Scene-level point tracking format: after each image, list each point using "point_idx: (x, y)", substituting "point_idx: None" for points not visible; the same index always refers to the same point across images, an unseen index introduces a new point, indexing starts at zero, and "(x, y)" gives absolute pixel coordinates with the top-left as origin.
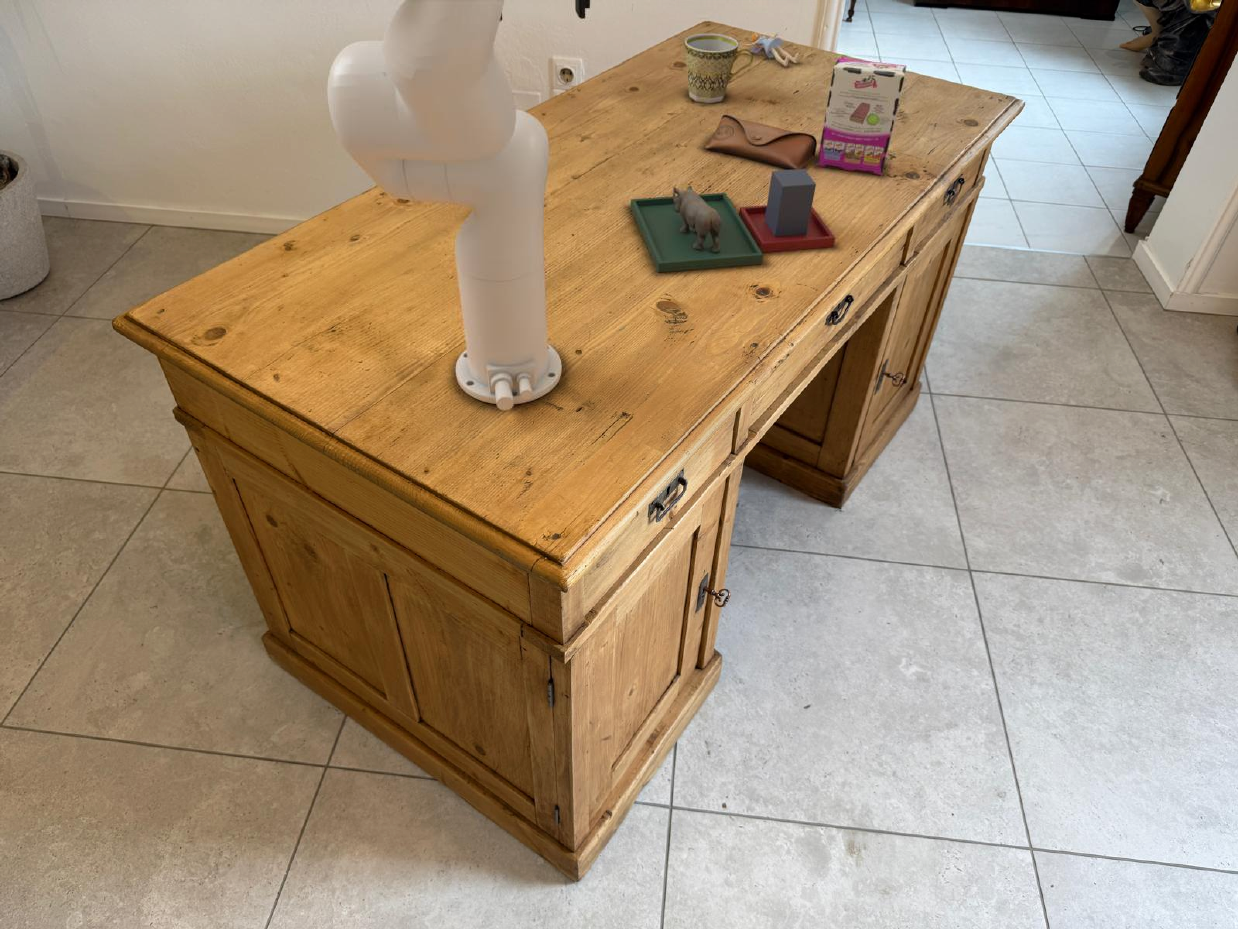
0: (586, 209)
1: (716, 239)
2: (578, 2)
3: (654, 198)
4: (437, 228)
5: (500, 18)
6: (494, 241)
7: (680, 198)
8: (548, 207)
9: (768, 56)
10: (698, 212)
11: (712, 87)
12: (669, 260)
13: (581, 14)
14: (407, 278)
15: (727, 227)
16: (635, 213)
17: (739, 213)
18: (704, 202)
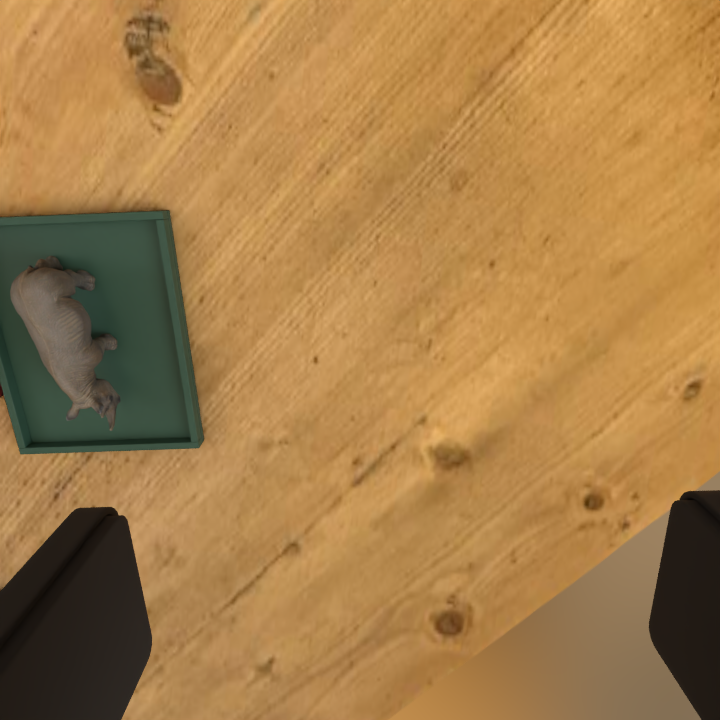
0: (283, 443)
1: (38, 262)
2: (79, 599)
3: (155, 446)
4: (549, 407)
5: (701, 494)
6: None
7: (93, 388)
8: (349, 456)
9: None
10: (52, 300)
11: None
12: (141, 219)
13: (95, 518)
14: (624, 246)
15: (27, 346)
16: (195, 407)
17: (2, 393)
18: (38, 342)
